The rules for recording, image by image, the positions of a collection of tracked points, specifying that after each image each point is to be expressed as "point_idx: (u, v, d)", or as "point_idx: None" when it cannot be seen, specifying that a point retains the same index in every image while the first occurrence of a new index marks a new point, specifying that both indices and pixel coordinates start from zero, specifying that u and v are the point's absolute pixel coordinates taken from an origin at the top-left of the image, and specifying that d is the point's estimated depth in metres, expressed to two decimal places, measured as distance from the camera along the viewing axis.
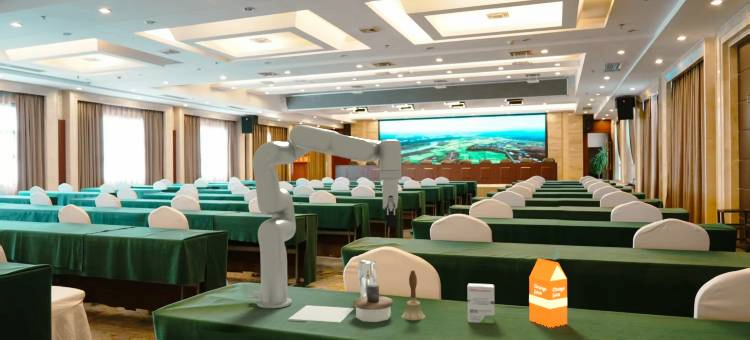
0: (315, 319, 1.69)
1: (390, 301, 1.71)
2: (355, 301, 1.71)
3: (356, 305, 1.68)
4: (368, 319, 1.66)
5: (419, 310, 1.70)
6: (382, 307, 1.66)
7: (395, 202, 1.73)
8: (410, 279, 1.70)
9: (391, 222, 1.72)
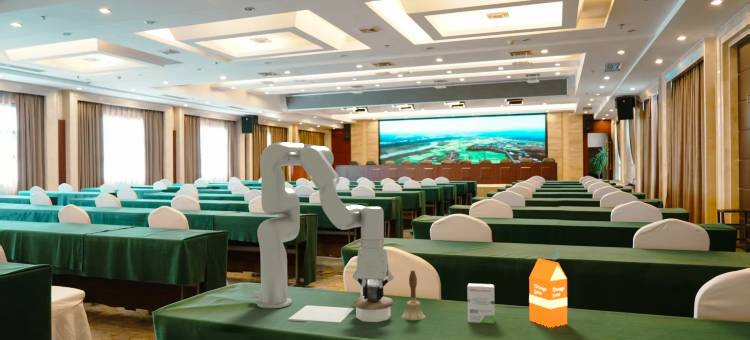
0: (315, 319, 1.69)
1: (390, 301, 1.71)
2: (355, 301, 1.71)
3: (356, 305, 1.68)
4: (368, 319, 1.66)
5: (419, 310, 1.70)
6: (382, 307, 1.66)
7: None
8: (410, 279, 1.70)
9: (382, 294, 1.71)
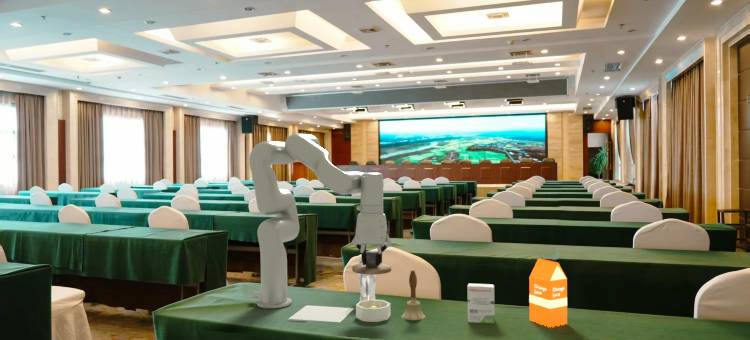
0: (315, 319, 1.69)
1: (389, 267, 1.71)
2: (354, 267, 1.71)
3: (355, 270, 1.68)
4: (368, 319, 1.66)
5: (419, 310, 1.70)
6: (380, 272, 1.66)
7: None
8: (410, 279, 1.70)
9: (381, 260, 1.71)
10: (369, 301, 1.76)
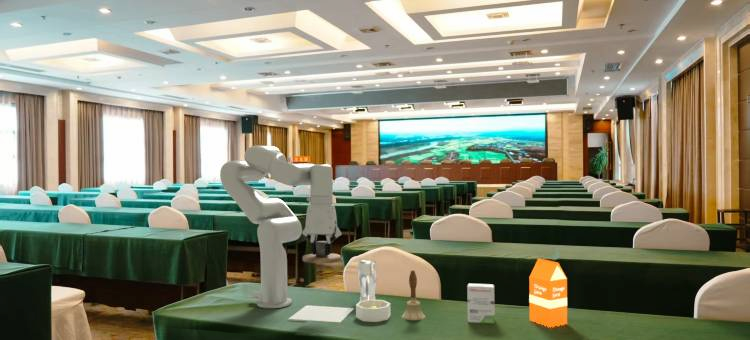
0: (315, 319, 1.69)
1: (338, 257, 1.75)
2: (304, 256, 1.75)
3: (304, 259, 1.72)
4: (368, 319, 1.66)
5: (419, 310, 1.70)
6: (329, 261, 1.70)
7: (335, 230, 1.76)
8: (410, 279, 1.70)
9: (331, 249, 1.75)
10: (369, 301, 1.76)
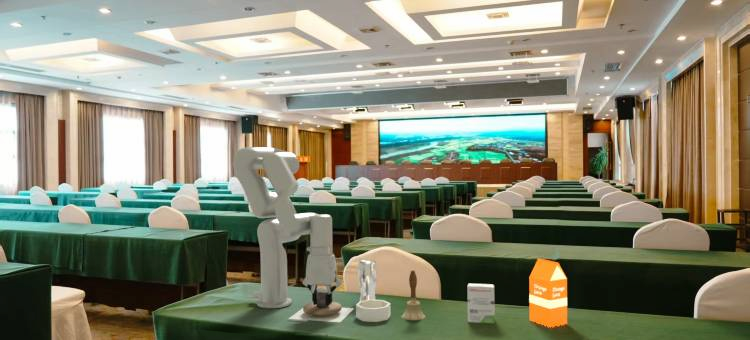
0: (315, 319, 1.69)
1: (339, 307, 1.75)
2: (305, 307, 1.76)
3: (305, 310, 1.72)
4: (368, 319, 1.66)
5: (419, 310, 1.70)
6: (329, 312, 1.70)
7: None
8: (410, 279, 1.70)
9: (331, 300, 1.75)
10: (369, 301, 1.76)
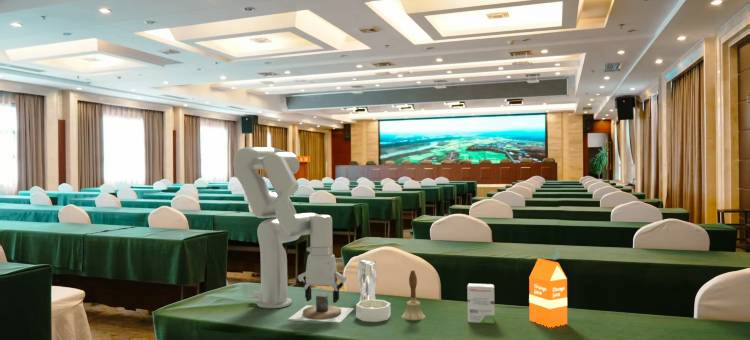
0: (315, 319, 1.69)
1: (338, 311, 1.75)
2: (304, 310, 1.76)
3: (304, 314, 1.73)
4: (368, 319, 1.66)
5: (419, 310, 1.70)
6: (329, 317, 1.70)
7: None
8: (410, 279, 1.70)
9: (338, 297, 1.75)
10: (369, 301, 1.76)
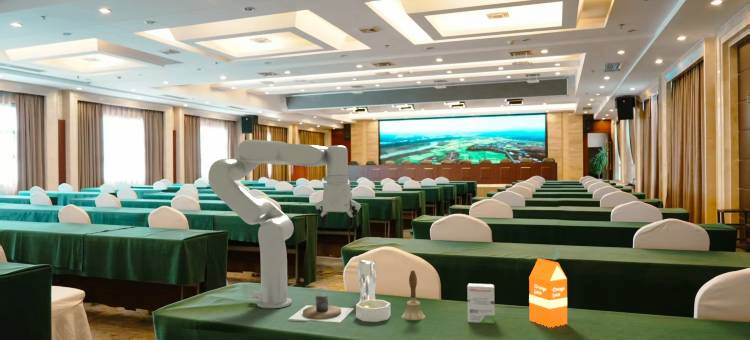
0: (315, 319, 1.69)
1: (338, 311, 1.75)
2: (304, 310, 1.76)
3: (304, 315, 1.73)
4: (368, 319, 1.66)
5: (419, 310, 1.70)
6: (329, 317, 1.70)
7: (352, 204, 1.86)
8: (410, 279, 1.70)
9: (353, 223, 1.84)
10: (369, 301, 1.76)
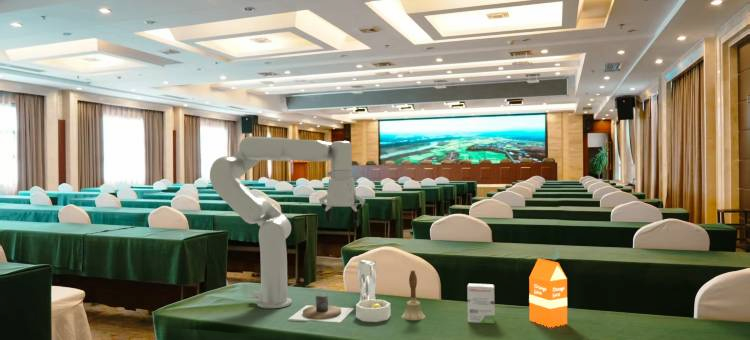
0: (315, 319, 1.69)
1: (338, 311, 1.75)
2: (304, 310, 1.76)
3: (304, 315, 1.73)
4: (368, 319, 1.66)
5: (419, 310, 1.70)
6: (329, 317, 1.70)
7: None
8: (410, 279, 1.70)
9: (357, 217, 1.87)
10: (369, 301, 1.76)
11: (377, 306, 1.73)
